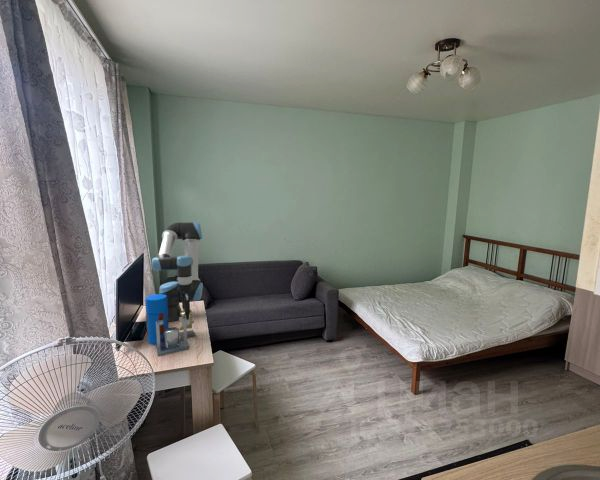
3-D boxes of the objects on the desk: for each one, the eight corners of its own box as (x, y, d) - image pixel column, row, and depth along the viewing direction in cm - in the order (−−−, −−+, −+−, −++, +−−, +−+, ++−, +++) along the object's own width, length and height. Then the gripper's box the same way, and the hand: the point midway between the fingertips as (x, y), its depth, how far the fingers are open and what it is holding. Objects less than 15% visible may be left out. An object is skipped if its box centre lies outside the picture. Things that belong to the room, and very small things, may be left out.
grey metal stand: (156, 346, 163) (154, 318, 161) (186, 340, 170) (185, 313, 168) (157, 356, 153) (155, 326, 151) (189, 349, 160) (188, 320, 158)
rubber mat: (179, 334, 178) (178, 332, 178) (193, 331, 181) (193, 329, 181) (180, 339, 171) (180, 338, 171) (195, 336, 174) (195, 335, 174)
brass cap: (185, 331, 169) (185, 316, 168) (175, 330, 171) (174, 314, 170) (197, 324, 179) (197, 309, 178) (187, 322, 181) (187, 308, 180)
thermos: (145, 339, 171) (143, 296, 167) (165, 334, 178) (163, 292, 174) (150, 346, 162) (148, 301, 159) (171, 340, 169) (169, 297, 166)
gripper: (176, 280, 179) (177, 317, 182) (180, 288, 162) (181, 329, 165) (189, 278, 182) (190, 315, 185) (194, 286, 165) (196, 327, 168)
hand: (186, 322), depth 175 cm, fingers closed on brass cap, 6 cm apart
